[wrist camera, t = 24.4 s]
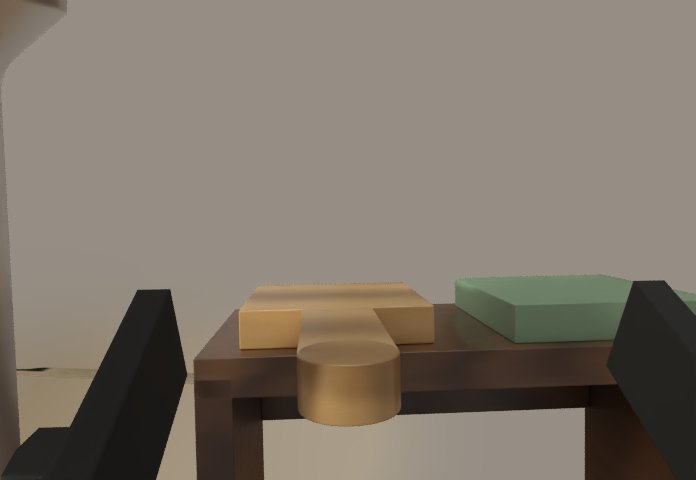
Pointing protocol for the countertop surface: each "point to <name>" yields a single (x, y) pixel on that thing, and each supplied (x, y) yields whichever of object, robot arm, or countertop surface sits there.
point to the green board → (550, 306)
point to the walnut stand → (424, 394)
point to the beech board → (340, 344)
